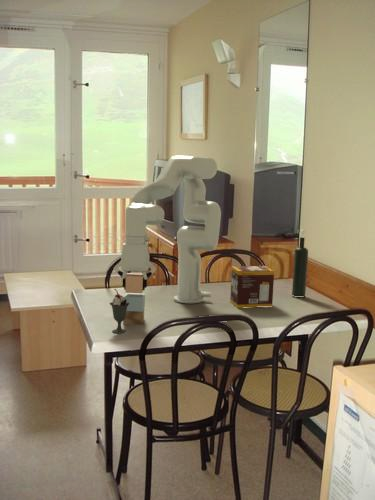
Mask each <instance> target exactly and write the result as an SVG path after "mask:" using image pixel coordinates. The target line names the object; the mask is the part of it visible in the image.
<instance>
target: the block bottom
mask: <svg viewBox="0 0 375 500" xmlns="http://www.w3.org/2000/svg"><path fill="white" fill-rule="evenodd" d="M144 320H145V309H144V310H143V312H141V311H126V317H125V319H124V320H123V321H122V323H123V325H140V326H141V325H142V326H143V324H144Z"/></svg>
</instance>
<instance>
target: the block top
mask: <svg viewBox="0 0 375 500" xmlns="http://www.w3.org/2000/svg"><path fill="white" fill-rule="evenodd" d="M123 297H124V298H125V299H126V300H127V302H128V303H129V305H128V306H127V311H141V312H143V310H144V311H145V306H146V305H145V302H146V301H145V298H146V293H143V292H142V293H125V294H124V296H123Z"/></svg>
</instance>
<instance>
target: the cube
mask: <svg viewBox="0 0 375 500" xmlns="http://www.w3.org/2000/svg"><path fill="white" fill-rule="evenodd" d="M143 292H144V290H143V274H142V272H127V274H126V290H125V294H126V293H143Z"/></svg>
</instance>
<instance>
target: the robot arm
mask: <svg viewBox="0 0 375 500" xmlns="http://www.w3.org/2000/svg"><path fill="white" fill-rule="evenodd" d="M217 164H218V163H217V162H216V159H214V158H212V157H210V156H209V157H207V156H206V157H205V156H194V155H193V156H192V155H190V156H189V155H174V156H171V157H170V158H169V159H168V161H167V162H166V164H165V165H164V167H163V168H162V170H161V171H160V173H159V174H158V176H157V178H156V179H155V181H152V182H151V183H149V184H148V185H146V186H144V187H143V188H141V189H140V190H138V191H137V192H136V193H135V194H134V195H133V197H132V198H131V200H130V202H129V204H128V206H127V207H126V208H125V221H124V223H125V224H124V225H125V226H124V227H125V230H124V232H125V233H124V243H122V247H121V257H120V258H121V259H120V261H119V262H118V263H117V264H116V265H115V266H114V267H113V270H114V271H115V272H116V273H117V274H118V275H119V276H120V277H121V279H122V288H123V290H126V275H127V273H141V274H143V291H145V289H147V288H148V287H147V286H148V279H149V277H151V276H152V275H153V274H154V273H155V272H156V271H157V268H156V267H155V266H154V265H153V263H152V262H151V261H150V247H149V243H148V242H151V237H148V236H147V226H157V225H160V224H161V223H162V222H163V221H164V219H165V211H164V209H163V207H161V206H160V205H158V204H152V203H153V202H155V201H158V200H159V201H160V200H163V199H165V198H168V197H171V196H173V195H174V194H175V192H176V190H177V189H178V187H179V186H180V185H181V182H182V181H183V183H184V189H185V191H184V193H185V194H184V200H183V203H184V204H183V209H182V210H183V212H182V213H183V214H182V215H183V219H184V220H185V221H186V222H188V223H193V224H201V225H202V224H203V225H204V226H196V225H195V226H194V225H183V226H181V227H180V228H179V229H178V231H177V233H176V242H177V250H178V263H177V264H178V265H177V266H178V267H177V295H174V296H173V300H174V302H176V303H180V304H189V305H190V304H199V303H203V301H204V298H211V296H212V293H211V292H208V291H203V290H202V289H201V277H202V274H201V273H202V257H201V254H200V252H199V251H205V252H212V251H214V250H216V248H217V246H218V243H219V238H220V236H219V235H220V229H221V217H222V210H221V207H220V205H219V204H218V202H216V201H210V200H206V196H207V195H206V192H207V188H206V185H205V183H204V181H203V180H210V179H212V178H214V177H215V176H216V174H217V172H218V165H217ZM198 250H199V251H198ZM120 269H121V270H120ZM149 269H151V270H150V271H149Z"/></svg>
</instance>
